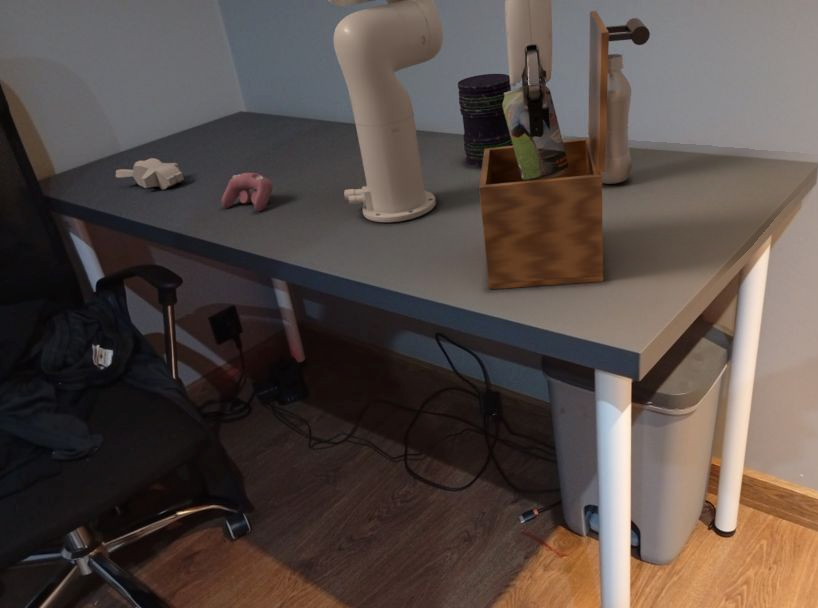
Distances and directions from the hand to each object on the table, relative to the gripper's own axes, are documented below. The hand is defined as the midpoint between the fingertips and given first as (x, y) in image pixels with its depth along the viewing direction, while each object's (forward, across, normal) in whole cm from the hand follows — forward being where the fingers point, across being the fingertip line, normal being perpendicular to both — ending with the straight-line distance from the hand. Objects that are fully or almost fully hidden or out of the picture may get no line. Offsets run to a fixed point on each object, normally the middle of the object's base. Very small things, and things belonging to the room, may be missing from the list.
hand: (536, 133), depth 92 cm
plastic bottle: (+18, -28, +12) cm, 36 cm away
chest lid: (-5, 0, +7) cm, 8 cm away
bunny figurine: (+18, -52, -82) cm, 99 cm away
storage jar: (+18, -46, -9) cm, 51 cm away
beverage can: (+6, +2, 0) cm, 6 cm away
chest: (+18, 0, 0) cm, 18 cm away
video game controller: (+18, -34, -54) cm, 66 cm away
